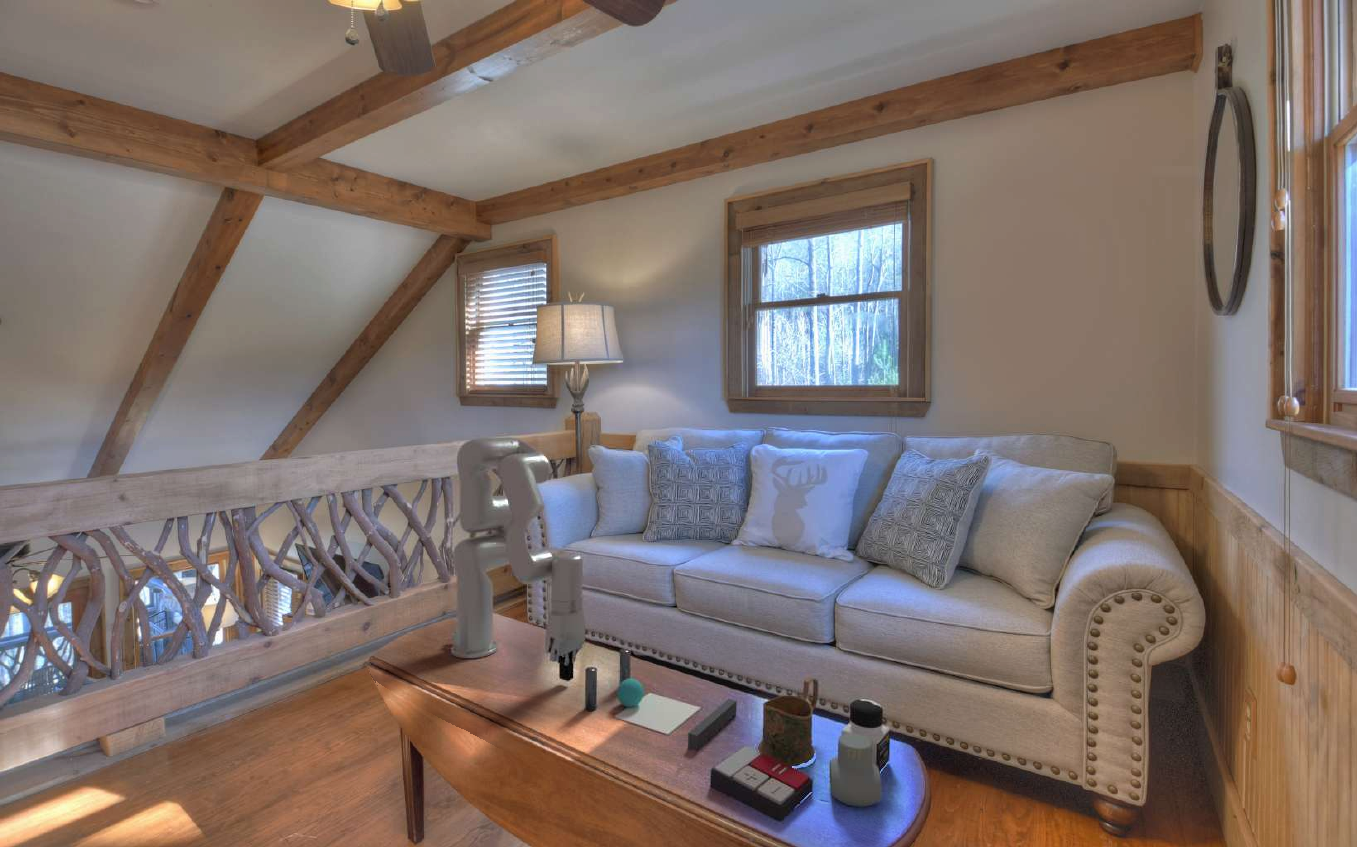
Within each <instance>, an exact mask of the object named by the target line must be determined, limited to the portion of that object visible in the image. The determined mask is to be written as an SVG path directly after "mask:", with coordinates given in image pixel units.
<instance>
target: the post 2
mask: <svg viewBox="0 0 1357 847" xmlns="http://www.w3.org/2000/svg"><path fill="white" fill-rule="evenodd" d="M631 651H632V650H631V649H628V648H622V649H619V685H620V684H621V683H622V682H623V681H624V680H626V679H631V655H632V654H631Z"/></svg>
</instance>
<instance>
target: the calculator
mask: <svg viewBox="0 0 1357 847" xmlns="http://www.w3.org/2000/svg"><path fill="white" fill-rule="evenodd" d="M709 782H710V784H709V787H710V788H712V789H714V790H715V791H718V792H719V793H722V794H723V795H726V796H727V797H731V798H733V800H737V802H740V803H742V804H744V805H745V806H747V807H749V808H751V809H753V810H755V811H757V812H759V813H762V814H763V815H765V816H767V817H769V818H771V819H773V820H775V821H777V822H783V821H784V820H785V819H786V818H787V817H788V816H789V815H790V814H791V813H792V812H793V811H795V810H794V808H795V807H796V806H797V805H798V804H800V802H801V801H802V800H803V799H804V798H805V797H806V796H807V795H808V794H809V793H810V792H812V793H813V786H814V780H813V778H811V777H810V776H809V775H808V774H806V773H804V772H802V771H800V770H799V769H794V768H792V767H790V766H788V765H786V764H784V763H782V762H780V761H778V760H776V759H774V758H772V757H770V756H767V755H765V754H761V753H759V752H758V750H755V749H754V748H752V747H750V746H747V745H744V746H743V747H741V748H739V749H738V750H736V751H735V752H734V753H732V754H731V755H729V756H727V757H726V758H725V759H723V760H722V761H720V762H719V763H718V764H716V765H715V766H713V767H712V768H711V770H710V781H709ZM800 805H801V804H800ZM791 811H792V812H791ZM789 813H790V814H789ZM788 814H789V815H788ZM786 816H787V817H786ZM785 817H786V818H785ZM784 818H785V819H784Z"/></svg>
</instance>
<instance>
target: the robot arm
mask: <svg viewBox="0 0 1357 847" xmlns="http://www.w3.org/2000/svg"><path fill="white" fill-rule="evenodd" d="M456 468H457V472H458V478H459V483H460V484H459V487H460V488H459V522H460V527H461V529H462V530H463V531H464V532H466V533H469V534H477V533H483V532H489V531H491V534H490V533H489V534H485V535H479V536H474V537H469V538H465V539H463V540H461V541H460V542H458V543H457V544H456V545H455V547H454V549H453V556H452V557H453V564H454V568H455V573H456V574H455V575H456V629H454V631H453V632H452V633H450V635H449V637H450V639H453V640H454V644H453V645H452V646H451V647H450V653H451V655H452V656H454V657H456V658H460V659H479V658H483V657H486V656H490V655H493V654H494V653H496V652H497V651H498V650H499V642H498V641H496V640H495V639H493V638H494V637H493V634H494V633H493V631H494V629H493V628H494V627H493V626H494V624H493V623H494V586H493V582H492V581H491V579H490V577H489V575H488V574H487V571H488V570H490V569H495V568H500V567H504V566H506V565H508V564H509V565H510V568H511V570H512V573H513V574H514V577H515V579H517V581H518V582H520V583H521V584H524V585H531V584H532V585H533V584H535V583H539V582H543V581H545V580H551V590H550V591H551V593H550V595H551V598H550V600H551V604H550V605H551V607H550V608H551V609H550V610H551V611H550V612H549V613H548V617H547V623H546V628H545V646H544V647H545V653H547V654H550V655H549V661H550V662H555V663H557V664H558V666H559V667H558V669H559V670H558V671H559V672H558V675H559V676H558V678H559V679H560V680H563V681H567V682H570V681H571V680H573V679H574V668H575V667H574V663H575V662H576V658H577V654H578V653H579V651H580V650H581V649H582V648H583V645H584V644H585V641H586V621H585V620H586V619H585V612H584V608H583V597H584V596H583V575H584V574H583V572H584V571H583V564H584V561H583V560H584V559H583V557H582V556H581V555H580V554H578V553H574V552H567V551H565V550H564V549H563V548H559V547H548V548H544V549H538V550H535V551H530V550H529V547H528V544H527V539H526V538H527V537H526V534H527V529H528V526H529V524H530V523H531V521H532V520H533V519H534V518H537V516H539V515H541V514H542V513H543V511H544V509H545V503H544V501H543V498H542V495H541V492H540V488H539V485H538V484H543V483H546V482H547V481H548V480H549V479H550V476H551V469H552V468H551V465H550V461H549V460H548V458H547V457H546V456H545V454H543V452H541V451H539V450H538V449H536V448H535V447H533V446H532V445H530V444H528V443H527V442H525V441H524V440H522V439H520V438H517V437H511V436H510V437H482V438H474V439H470V440H468V441H466V442H465V443H464V442H463V444H462V445H461V446H460V448H459V450H458V452H457V456H456ZM494 469H495V470H497V471H498V472H497V474H498V477H499V479H500V482H501V485H502V489H503V492H504V495H501V494H500V495H493V481H492V479H491V477H490V475H489V473H488V471H487V470H494Z"/></svg>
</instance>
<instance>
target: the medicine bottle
mask: <svg viewBox="0 0 1357 847" xmlns="http://www.w3.org/2000/svg"><path fill="white" fill-rule="evenodd" d="M883 714H884V711H883V707H882V706H881V704H879V703H878V702H875V701H874V700H871V699H865V698H863V699H862V698H861V699H855V700H853V701H852V702H850V705H849V722H848V724H847V725H846V726H845V727H844V728H843V729H842V730H841V734H840V736H842V735H843V734H847V733H856V734H860V735H863V736H865V737H867V738H868V739H869V740H870V741H871V742H872V745H873V751H872V762H873V763H875V764H876V765H877V766H878V768H879V772H880V771H881V769H882V768H883V767H884V766H885V765H886V763H887V762H888V761H889V762H890V748H891V747H890V746H891V728H890V727H888V726H885V725H883V718H884V717H883V716H884V715H883Z"/></svg>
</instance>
